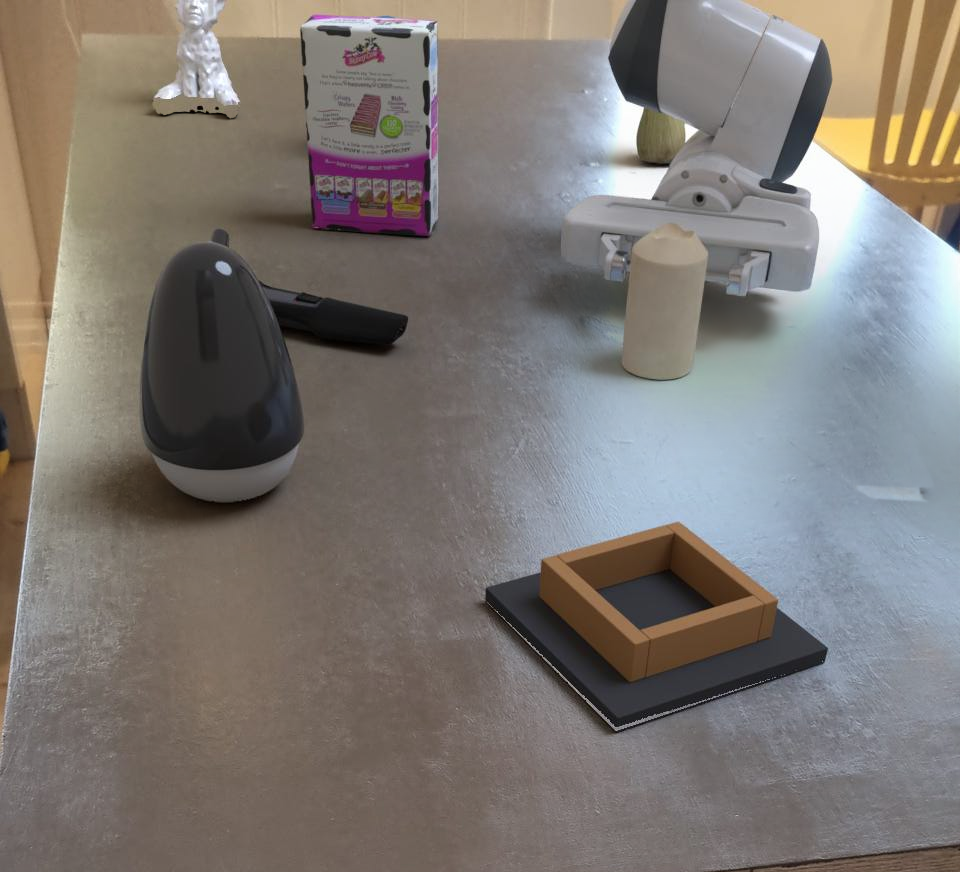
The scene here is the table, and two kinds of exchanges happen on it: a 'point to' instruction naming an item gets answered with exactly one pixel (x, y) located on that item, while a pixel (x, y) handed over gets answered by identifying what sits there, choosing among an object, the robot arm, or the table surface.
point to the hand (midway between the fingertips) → (674, 277)
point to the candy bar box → (372, 123)
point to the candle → (664, 303)
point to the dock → (653, 623)
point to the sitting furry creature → (200, 55)
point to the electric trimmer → (335, 317)
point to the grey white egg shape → (217, 378)
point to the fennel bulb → (659, 137)
